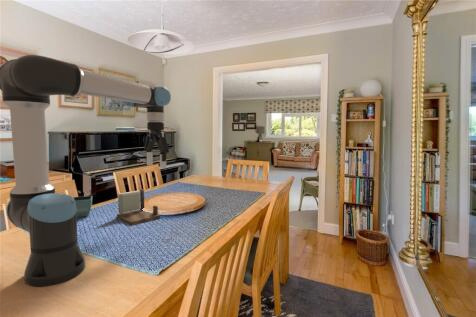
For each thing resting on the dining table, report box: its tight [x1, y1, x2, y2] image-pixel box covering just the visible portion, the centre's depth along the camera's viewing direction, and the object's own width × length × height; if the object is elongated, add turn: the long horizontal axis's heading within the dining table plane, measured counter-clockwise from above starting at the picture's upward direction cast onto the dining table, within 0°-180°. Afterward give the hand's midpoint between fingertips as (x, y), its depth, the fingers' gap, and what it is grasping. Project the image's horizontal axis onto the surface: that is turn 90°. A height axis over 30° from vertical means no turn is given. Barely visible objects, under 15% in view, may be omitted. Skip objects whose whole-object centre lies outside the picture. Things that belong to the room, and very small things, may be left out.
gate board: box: [116, 188, 161, 226], centre depth 131 cm, size 15×16×12 cm
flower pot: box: [72, 195, 93, 218], centre depth 133 cm, size 9×9×9 cm
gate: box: [117, 190, 140, 214], centre depth 134 cm, size 10×2×10 cm, turn 136°
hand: (156, 166), depth 126 cm, fingers open, 13 cm apart
